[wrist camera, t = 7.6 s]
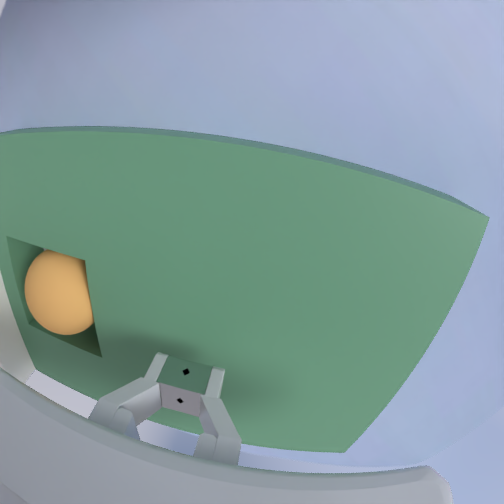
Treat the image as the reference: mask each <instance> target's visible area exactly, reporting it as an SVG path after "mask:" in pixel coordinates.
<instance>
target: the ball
mask: <svg viewBox="0 0 504 504" xmlns="http://www.w3.org/2000/svg"><path fill="white" fill-rule="evenodd" d="M25 298H26V302H27V305H28V308H29V310H30V312H31V314H32V315H33V317H34V318H35V319H36V321H37V322H38V323H39V324H40V325H42V326H43V327H44V328H46V329H47V330H49V331H51V332H53V333H57V334H62V335H72V334H76V333H80V332H82V331H84V330H86V329H87V328H89V327H90V326H91V325H92V324H93V323H94V317H93V312H92V306H91V301H90V294H89V288H88V281H87V273H86V265H85V260H82V259H79V258H75V257H72V256H68V255H65V254H62V253H58V252H55V251H52V250H49V249H47V250H45V251H43V252H42V253H41V254H39V255H38V256H37V257H36V258H35V259H34V261H33V262H32V264H31V265H30V267H29V269H28V272H27V275H26V279H25Z"/></svg>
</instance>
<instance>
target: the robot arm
mask: <svg viewBox="0 0 504 504" xmlns="http://www.w3.org/2000/svg"><path fill="white" fill-rule="evenodd" d="M224 373H225V369H223V368H218V367H214V366H210V365H206V364H201V363H197V362H193V361H187V360H184V359H181V358H177V357H174V356H170V355H167V354H163V353H160V352H158V353H157V354H156V355H155V357H154V359H153V361H152V363H151V365H150V367H149V369H148V371H147V373H146V375H145V377H144V378H142V377H140V378H138V379H136V380H134V381H132V382H130V383H129V384H127V385H125V386H123V387H121V388H119V389H117V390H115V391H113V392H111V393H109V394H107V395H105V396H103V397H101V398H100V399H99V400H98V402H97V404H96V405H95V407H94V409H93V411H92V413H91V414H90V416H89V418H88V419H87V418H85V417H82V416H80V415H78V414H76V413H74V412H72V411H71V410H68V409H67V408H65V407H63V406H61V405H59V404H57V403H55V402H54V401H52V400H50V399H48V398H47V397H45V396H43V395H42V394H40V393H38V392H37V391H35V390H33V389H32V388H30V387H29V386H27V385H26V384H24V383H22V382H21V381H19V380H18V379H16V378H15V377H14V376H12V375H11V374H9V373H8V372H6V371H5V370H4V369H2V368H1V367H0V504H453V498H452V492H451V488H450V485H449V483H448V482H447V481H446V480H445V479H444V478H443V477H442V476H441V475H440V474H439V473H438V472H437V471H436V470H434V469H433V468H432V467H430V466H427V465H426V466H417V467H411V468H404V469H397V470H388V471H378V472H363V473H335V474H333V473H331V474H330V473H329V474H328V473H326V474H324V473H297V472H283V471H273V470H264V469H257V468H249V467H243V466H238V460H239V454H240V448H241V442H242V440H241V438H240V436H239V434H238V432H237V430H236V428H235V426H234V424H233V422H232V420H231V418H230V416H229V414H228V412H227V410H226V408H225V406H224V404H223V402H222V400H221V399H220V395H221V390H222V384H223V379H224ZM162 407H164V408H168V409H172V410H176V411H180V412H183V413H186V414H190V415H193V416H197V417H199V419H200V422H201V425H202V428H203V430H204V433H202V434H200V435H199V438H198V442H197V445H196V448H195V452H194V455H193V456H190V455H186V454H182V453H178V452H175V451H171V450H168V449H165V448H161V447H158V446H155V445H152V444H149V443H146V442H143V441H140V438H139V434H138V431H137V428H136V426H137V425H139V424H140V423H141V422H143V421H144V420H146V419H147V418H148V417H150V416H151V415H153V414H154V413H155V412H157V411H158V410H159V409H161V408H162Z"/></svg>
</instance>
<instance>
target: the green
mask: <svg viewBox="0 0 504 504" xmlns="http://www.w3.org/2000/svg"><path fill="white" fill-rule="evenodd" d="M488 221H489V217H487V216H486V215H484V214H482V213H481V212H479V211H477V210H476V209H474V208H472V207H470V206H468V205H467V204H465V203H463V202H461V201H459V200H458V199H456V198H454V197H452V196H450V195H447V194H445V193H442V192H439V191H437V190H434V189H431V188H429V187H426V186H423V185H421V184H418V183H415V182H412V181H409V180H406V179H403V178H400V177H397V176H394V175H391V174H388V173H385V172H381V171H378V170H375V169H371V168H368V167H365V166H361V165H358V164H354V163H350V162H347V161H343V160H339V159H335V158H331V157H327V156H323V155H319V154H315V153H311V152H306V151H302V150H297V149H293V148H288V147H283V146H278V145H273V144H267V143H262V142H256V141H251V140H245V139H238V138H232V137H225V136H218V135H211V134H203V133H194V132H185V131H175V130H164V129H151V128H135V127H108V126H68V127H43V128H28V129H17V130H12V131H6V132H1V133H0V367H1V368H2V369H4V370H5V371H6V372H8V373H9V374H11V375H12V376H14V377H15V378H16V379H18V380H19V381H21V382H22V383H24V384H25V383H26V381H27V380H28V379H29V377H30V376H31V375H32V374H33V372H34V371H35V370H36V369H37V370H38V371H40V372H42V373H43V374H45V375H47V376H49V377H51V378H53V379H54V380H56V381H58V382H60V383H62V384H64V385H66V386H68V387H70V388H72V389H74V390H76V391H78V392H80V393H82V394H84V395H86V396H89V397H91V398H93V399H95V400H97V401H98V400H99V399H100V398H101V397H103V396H105V395H107V394H109V393H111V392H113V391H115V390H117V389H119V388H121V387H123V386H125V385H127V384H129V383H130V382H132V381H134V380H136V379H138V378H140V377H142V378H144V377H145V375H146V373H147V371H148V369H149V367H150V365H151V363H152V361H153V359H154V357H155V355H156V354H157V353H158V352H160V353H163V354H167V355H170V356H174V357H177V358H181V359H184V360H187V361H193V362H197V363H201V364H206V365H210V366H214V367H218V368H223V369H225V373H224V379H223V384H222V390H221V395H220V399H221V400H222V402H223V404H224V406H225V408H226V410H227V412H228V414H229V416H230V418H231V420H232V422H233V424H234V426H235V428H236V430H237V432H238V434H239V436H240V438H241V440H242V442H241V443H242V444H248V445H254V446H261V447H269V448H277V449H286V450H297V451H311V452H338V453H344V452H345V451H346V450H347V449H348V448H349V447H350V446H351V445H352V444H353V443H354V442H355V441H356V440H357V439H358V438H359V437H360V436H361V435H362V434H363V433H364V431H365V430H366V429H367V428H368V427H369V426H370V425H371V424H372V422H373V421H374V420H375V419H376V418H377V417H378V415H379V414H380V413H381V412H382V411H383V409H384V408H385V407H386V406H387V404H388V403H389V402H390V401H391V399H392V398H393V397H394V396H395V394H396V393H397V392H398V390H399V389H400V388H401V386H402V385H403V384H404V382H405V381H406V379H407V378H408V377H409V375H410V374H411V372H412V371H413V370H414V368H415V367H416V365H417V364H418V362H419V361H420V359H421V358H422V356H423V355H424V353H425V352H426V350H427V348H428V347H429V345H430V344H431V342H432V340H433V339H434V337H435V335H436V334H437V332H438V330H439V329H440V327H441V325H442V323H443V322H444V320H445V318H446V316H447V314H448V313H449V311H450V309H451V307H452V305H453V303H454V301H455V299H456V297H457V295H458V293H459V291H460V289H461V287H462V285H463V283H464V281H465V279H466V276H467V274H468V272H469V270H470V267H471V265H472V263H473V260H474V258H475V256H476V253H477V251H478V248H479V246H480V243H481V240H482V238H483V235H484V232H485V229H486V227H487V224H488ZM47 249H49V250H52V251H55V252H58V253H62V254H65V255H68V256H72V257H75V258H79V259H82V260H85V265H86V273H87V281H88V288H89V294H90V301H91V306H92V312H93V317H94V323H93V324H92V325H91V326H90V327H89V328H87V329H86V330H84V331H82V332H80V333H76V334H72V335H62V334H57V333H53V332H51V331H49V330H47V329H46V328H44V327H43V326H42V325H40V324H39V323H38V322H37V321H36V319H35V318H34V317H33V315H32V314H31V312H30V310H29V308H28V305H27V302H26V298H25V279H26V275H27V272H28V269H29V267H30V265H31V264H32V262H33V261H34V259H35V258H36V257H37V256H38V255H39V254H41V253H42V252H43V251H45V250H47ZM147 420H150V421H153V422H156V423H159V424H162V425H166V426H169V427H172V428H176V429H179V430H183V431H187V432H191V433H195V434H199V435H200V434H202V433H204V430H203V428H202V425H201V422H200V419H199V417H197V416H193V415H190V414H186V413H183V412H180V411H176V410H172V409H168V408H164V407H162V408H161V409H159V410H158V411H157V412H155V413H154V414H153V415H151V416H150V417H148V418H147Z"/></svg>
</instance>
